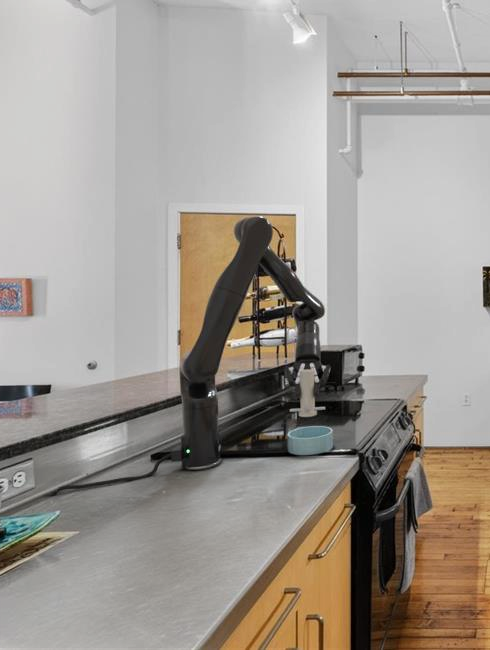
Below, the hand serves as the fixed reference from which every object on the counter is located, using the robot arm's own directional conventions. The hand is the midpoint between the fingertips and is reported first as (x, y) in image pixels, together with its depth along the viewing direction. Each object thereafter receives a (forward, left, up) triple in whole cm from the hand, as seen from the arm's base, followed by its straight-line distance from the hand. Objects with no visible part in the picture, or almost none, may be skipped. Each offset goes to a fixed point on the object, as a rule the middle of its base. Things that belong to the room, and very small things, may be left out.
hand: (307, 396), depth 135 cm
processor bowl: (0, +11, -19) cm, 22 cm away
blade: (0, +2, -6) cm, 6 cm away
